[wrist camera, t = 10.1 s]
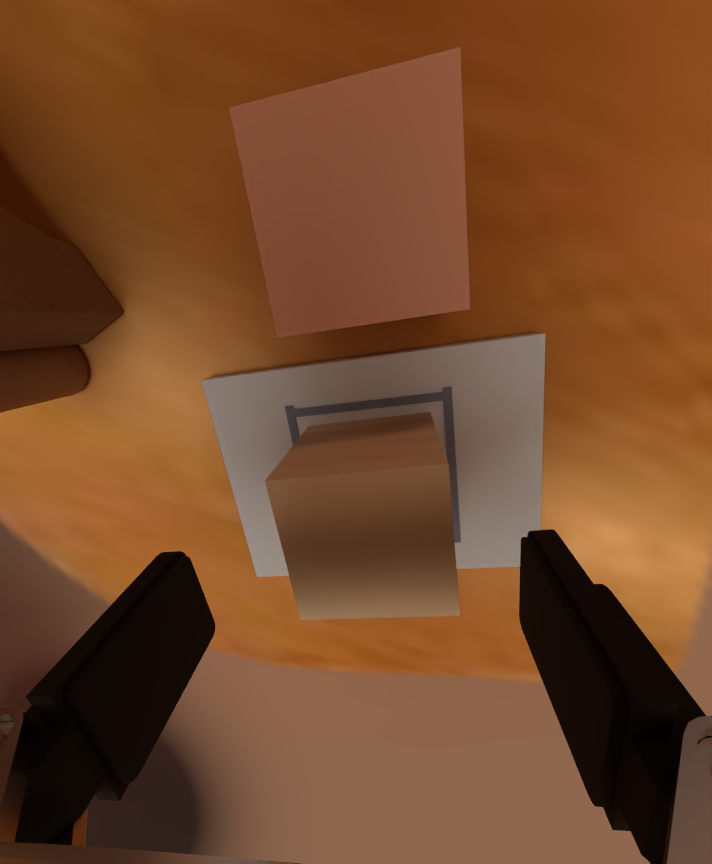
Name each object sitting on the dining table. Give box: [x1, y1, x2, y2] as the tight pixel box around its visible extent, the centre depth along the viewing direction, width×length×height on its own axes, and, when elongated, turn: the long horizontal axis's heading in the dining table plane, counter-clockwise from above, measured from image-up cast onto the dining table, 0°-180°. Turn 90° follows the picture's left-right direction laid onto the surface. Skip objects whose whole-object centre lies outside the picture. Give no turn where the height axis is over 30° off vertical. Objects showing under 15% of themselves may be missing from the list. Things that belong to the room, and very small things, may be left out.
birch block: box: [265, 412, 460, 620], centre depth 15 cm, size 6×6×6 cm
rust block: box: [229, 47, 470, 338], centre depth 12 cm, size 6×6×6 cm
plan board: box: [201, 332, 546, 577], centre depth 18 cm, size 12×16×1 cm
